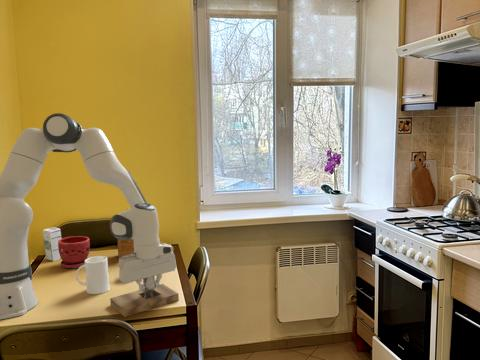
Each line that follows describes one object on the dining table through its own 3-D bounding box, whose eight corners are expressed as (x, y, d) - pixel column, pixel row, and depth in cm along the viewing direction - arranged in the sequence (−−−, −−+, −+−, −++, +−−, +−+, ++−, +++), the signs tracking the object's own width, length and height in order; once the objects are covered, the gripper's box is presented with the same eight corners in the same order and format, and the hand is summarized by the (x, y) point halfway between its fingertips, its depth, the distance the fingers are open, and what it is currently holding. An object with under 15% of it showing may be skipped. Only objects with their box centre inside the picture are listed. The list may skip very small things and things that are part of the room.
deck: (124, 317, 140) (124, 309, 140) (110, 305, 150) (110, 298, 149) (178, 300, 152) (178, 293, 152) (162, 290, 162) (162, 283, 161)
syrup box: (63, 258, 204) (61, 228, 202) (52, 261, 199) (49, 230, 197) (56, 256, 207) (53, 226, 205) (45, 259, 202) (42, 229, 200)
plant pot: (73, 272, 184) (71, 244, 183) (53, 267, 191) (51, 241, 189) (97, 262, 196) (95, 237, 194) (77, 258, 202) (75, 233, 200)
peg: (146, 300, 150) (145, 278, 148) (141, 296, 153) (140, 275, 151) (157, 297, 152) (156, 275, 151) (152, 293, 155) (151, 272, 154)
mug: (77, 297, 157) (75, 265, 155) (76, 289, 165) (74, 259, 163) (111, 291, 162) (109, 260, 160) (108, 284, 169) (106, 254, 168)
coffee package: (140, 252, 210) (138, 207, 207) (139, 260, 198) (136, 212, 195) (119, 253, 208) (116, 208, 205) (116, 261, 196) (113, 214, 193)
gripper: (122, 258, 141) (124, 299, 143) (177, 246, 153) (179, 283, 155) (114, 254, 146) (117, 293, 148) (168, 242, 158) (170, 279, 160)
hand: (149, 288), depth 152 cm, fingers closed on peg, 4 cm apart
